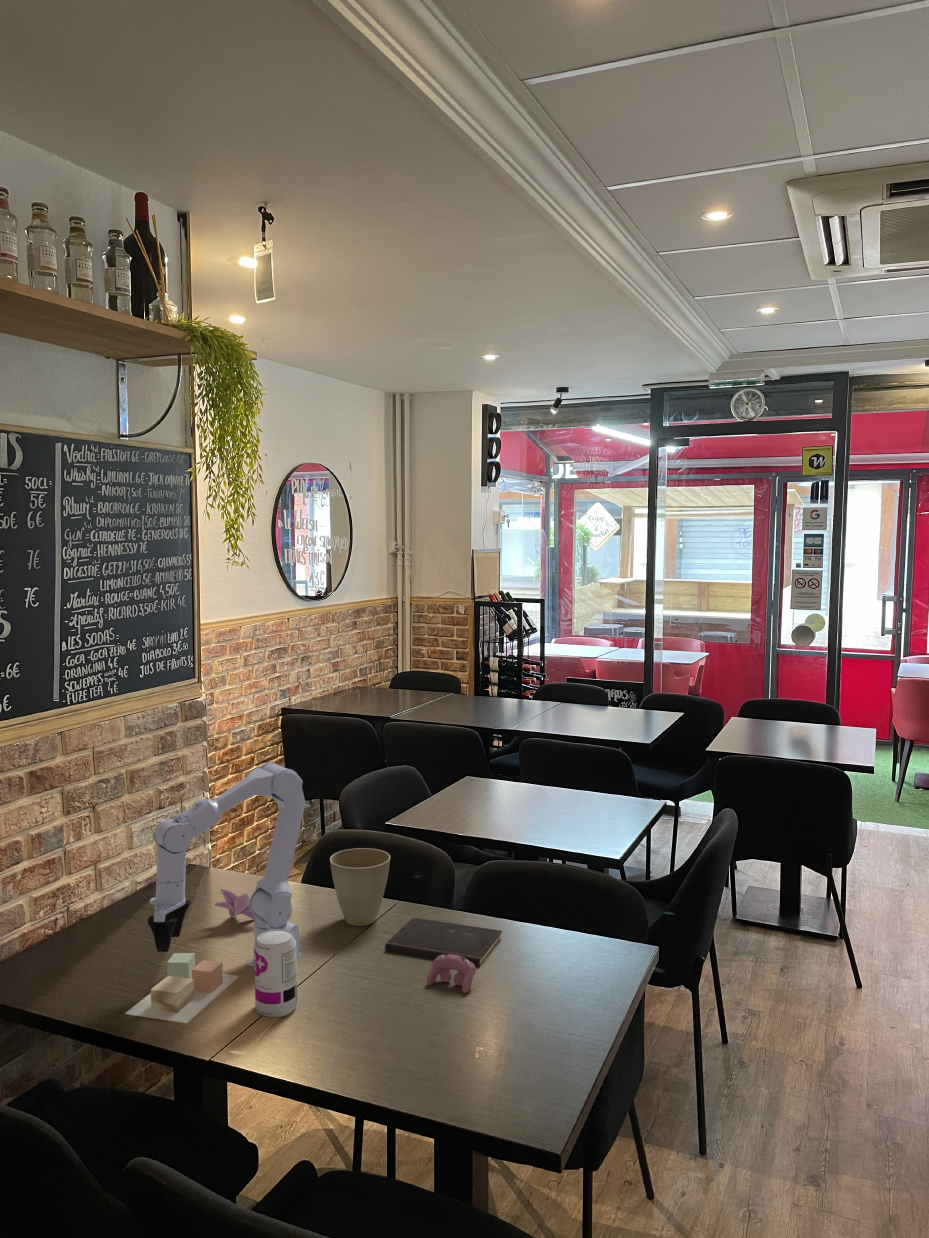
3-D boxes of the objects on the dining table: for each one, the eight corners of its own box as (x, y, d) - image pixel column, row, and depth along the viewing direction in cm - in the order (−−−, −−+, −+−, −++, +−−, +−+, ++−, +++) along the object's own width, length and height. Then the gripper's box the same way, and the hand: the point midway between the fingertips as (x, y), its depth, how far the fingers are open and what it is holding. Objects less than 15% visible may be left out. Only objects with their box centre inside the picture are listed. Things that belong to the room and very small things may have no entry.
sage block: (195, 973, 195) (194, 952, 194) (188, 982, 190) (188, 962, 190) (174, 973, 195) (174, 952, 194) (167, 982, 190) (167, 962, 190)
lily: (271, 931, 220) (273, 890, 224) (235, 927, 211) (238, 885, 215) (237, 935, 226) (240, 896, 230) (200, 932, 217) (204, 891, 221)
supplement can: (261, 1023, 174) (260, 948, 173) (251, 1004, 182) (249, 932, 181) (302, 1013, 178) (300, 940, 177) (290, 995, 185) (288, 924, 184)
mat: (239, 977, 193) (239, 975, 193) (186, 1024, 174) (186, 1022, 174) (182, 969, 197) (182, 968, 197) (124, 1015, 178) (124, 1013, 178)
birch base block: (194, 998, 184) (193, 979, 183) (177, 1012, 178) (177, 993, 178) (168, 994, 185) (168, 975, 185) (151, 1008, 180) (150, 989, 179)
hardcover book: (413, 926, 221) (412, 917, 220) (502, 939, 213) (502, 930, 212) (384, 953, 206) (384, 943, 205) (479, 969, 198) (479, 959, 197)
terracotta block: (222, 982, 190) (222, 962, 190) (211, 993, 186) (210, 972, 185) (204, 980, 191) (203, 959, 191) (192, 990, 187) (191, 969, 187)
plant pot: (371, 937, 213) (370, 871, 212) (319, 926, 220) (317, 862, 218) (402, 913, 227) (401, 852, 225) (352, 904, 233) (351, 844, 232)
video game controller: (474, 994, 188) (480, 959, 191) (465, 994, 185) (472, 958, 187) (432, 985, 193) (438, 951, 195) (423, 984, 189) (429, 949, 191)
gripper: (162, 867, 193) (160, 929, 193) (139, 889, 178) (137, 957, 179) (195, 868, 193) (193, 930, 193) (175, 891, 178) (172, 958, 179)
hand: (168, 943), depth 186 cm, fingers open, 7 cm apart
